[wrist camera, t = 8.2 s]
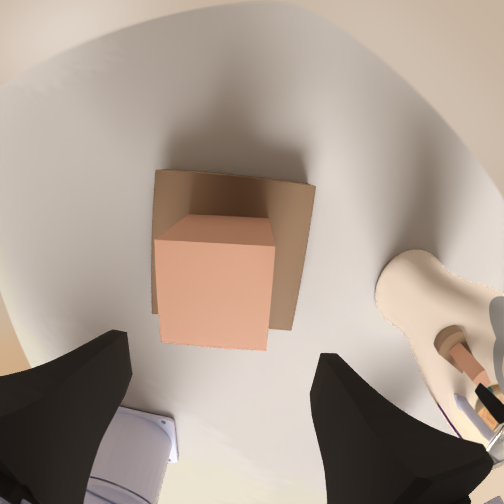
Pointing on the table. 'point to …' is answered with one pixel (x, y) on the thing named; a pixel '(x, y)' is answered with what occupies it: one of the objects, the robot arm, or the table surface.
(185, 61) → the table surface
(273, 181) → the walnut base
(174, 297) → the terracotta block
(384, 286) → the beer glass
